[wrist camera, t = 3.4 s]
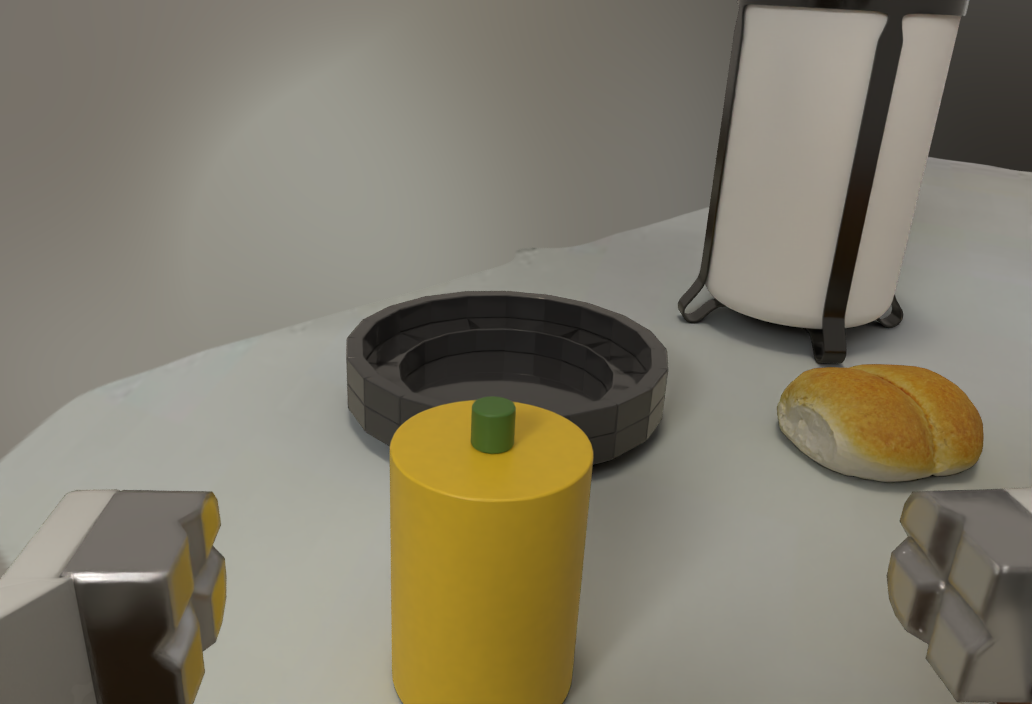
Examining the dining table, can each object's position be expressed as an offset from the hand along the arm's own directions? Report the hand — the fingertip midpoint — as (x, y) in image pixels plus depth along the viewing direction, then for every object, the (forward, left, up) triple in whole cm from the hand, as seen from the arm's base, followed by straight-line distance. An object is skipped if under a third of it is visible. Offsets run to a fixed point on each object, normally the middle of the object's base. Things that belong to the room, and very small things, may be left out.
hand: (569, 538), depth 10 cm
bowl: (-5, +30, -14) cm, 33 cm away
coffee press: (+12, +48, -14) cm, 51 cm away
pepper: (-3, +12, -14) cm, 18 cm away
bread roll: (+13, +30, -14) cm, 36 cm away
